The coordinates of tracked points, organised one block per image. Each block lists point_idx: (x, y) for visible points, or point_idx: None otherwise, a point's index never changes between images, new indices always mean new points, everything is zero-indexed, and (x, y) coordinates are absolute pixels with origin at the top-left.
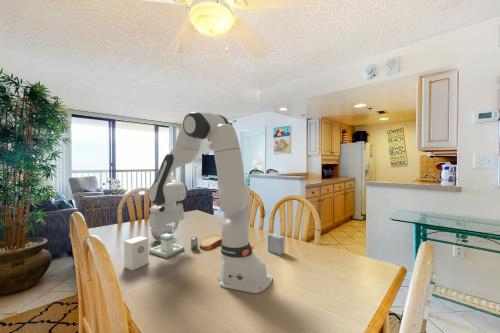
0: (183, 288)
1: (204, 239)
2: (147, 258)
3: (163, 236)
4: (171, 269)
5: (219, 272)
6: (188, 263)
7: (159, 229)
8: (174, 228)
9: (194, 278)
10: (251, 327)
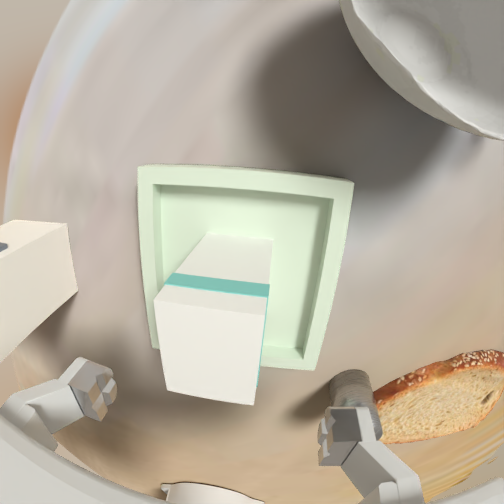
0: (103, 443)
1: (458, 375)
2: (57, 303)
3: (162, 343)
4: (122, 399)
5: (184, 492)
6: (192, 427)
7: (45, 424)
8: (328, 428)
9: (143, 453)
10: None
